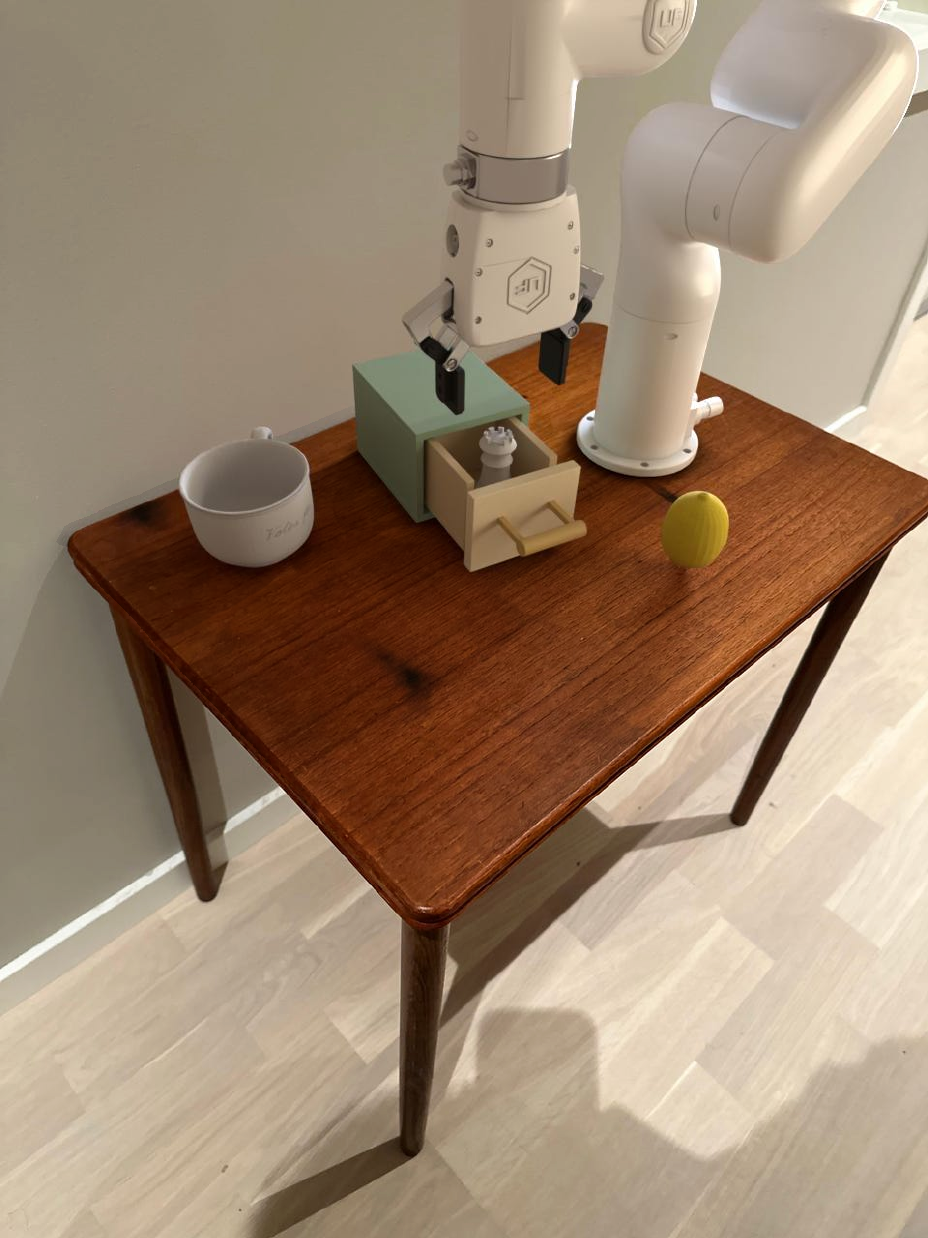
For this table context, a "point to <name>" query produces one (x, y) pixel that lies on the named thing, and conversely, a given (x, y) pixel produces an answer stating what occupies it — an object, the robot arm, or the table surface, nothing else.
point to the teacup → (249, 499)
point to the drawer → (501, 495)
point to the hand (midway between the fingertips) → (502, 391)
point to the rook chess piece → (496, 456)
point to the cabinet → (420, 416)
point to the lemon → (695, 529)
